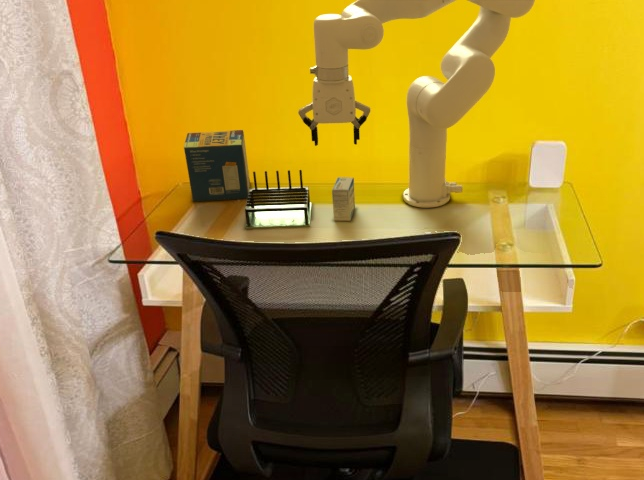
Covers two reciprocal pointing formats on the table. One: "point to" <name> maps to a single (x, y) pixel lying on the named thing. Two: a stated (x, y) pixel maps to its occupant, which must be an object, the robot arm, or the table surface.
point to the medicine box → (343, 199)
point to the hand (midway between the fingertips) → (335, 143)
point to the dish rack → (278, 206)
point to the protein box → (217, 165)
